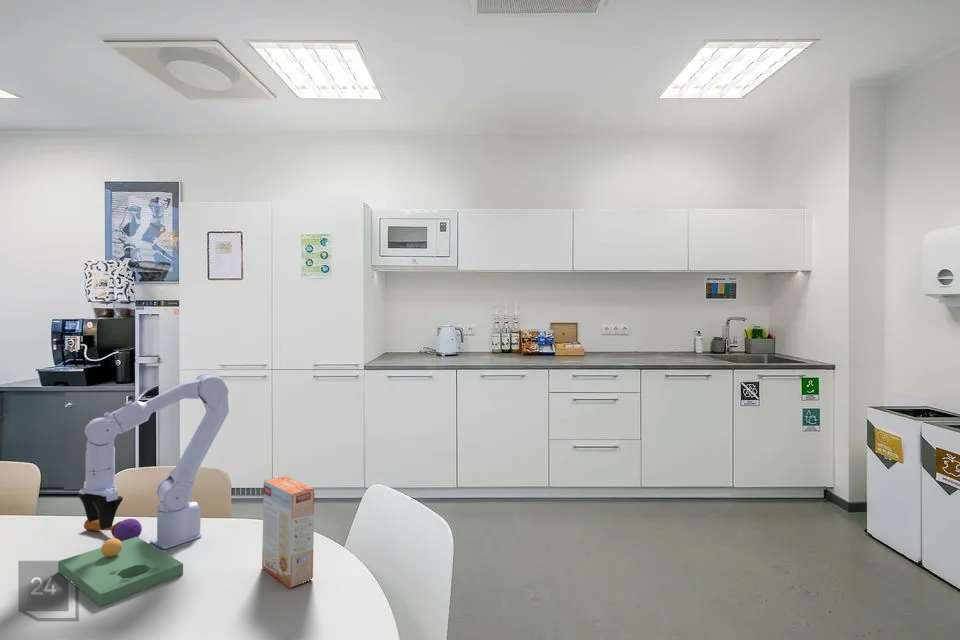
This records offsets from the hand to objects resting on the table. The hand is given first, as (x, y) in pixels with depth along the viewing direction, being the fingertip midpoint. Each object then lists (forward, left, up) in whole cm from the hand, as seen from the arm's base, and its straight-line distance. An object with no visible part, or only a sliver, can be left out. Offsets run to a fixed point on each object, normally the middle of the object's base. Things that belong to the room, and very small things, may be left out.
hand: (99, 524), depth 122 cm
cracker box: (-22, +43, -9) cm, 49 cm away
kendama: (-7, -12, -9) cm, 16 cm away
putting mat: (0, +12, -8) cm, 15 cm away
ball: (0, +7, -4) cm, 8 cm away
